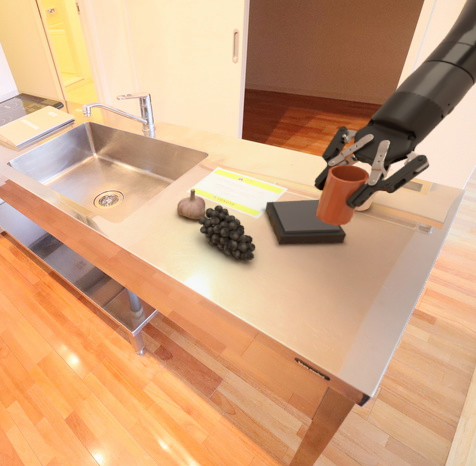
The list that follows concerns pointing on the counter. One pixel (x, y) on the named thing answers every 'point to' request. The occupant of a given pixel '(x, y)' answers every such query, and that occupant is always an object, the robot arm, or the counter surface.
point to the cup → (368, 169)
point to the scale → (301, 223)
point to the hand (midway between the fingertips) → (333, 196)
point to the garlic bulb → (192, 206)
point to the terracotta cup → (340, 193)
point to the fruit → (226, 233)
